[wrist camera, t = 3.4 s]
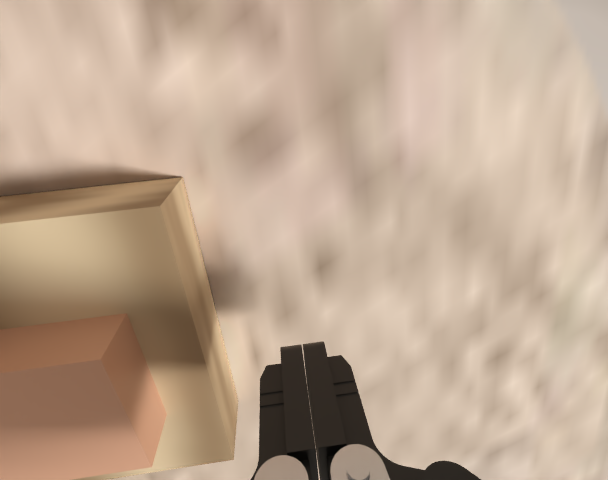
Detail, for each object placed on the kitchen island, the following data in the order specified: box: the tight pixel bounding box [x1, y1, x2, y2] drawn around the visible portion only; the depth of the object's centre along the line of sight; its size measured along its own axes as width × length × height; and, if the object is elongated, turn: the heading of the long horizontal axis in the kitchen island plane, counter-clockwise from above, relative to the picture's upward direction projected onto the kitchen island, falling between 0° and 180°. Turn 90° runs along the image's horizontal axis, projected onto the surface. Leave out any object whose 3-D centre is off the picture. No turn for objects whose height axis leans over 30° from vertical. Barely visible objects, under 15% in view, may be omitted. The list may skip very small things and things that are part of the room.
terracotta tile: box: [0, 313, 167, 480], centre depth 11 cm, size 5×5×2 cm
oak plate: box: [0, 177, 238, 480], centre depth 13 cm, size 13×12×3 cm
